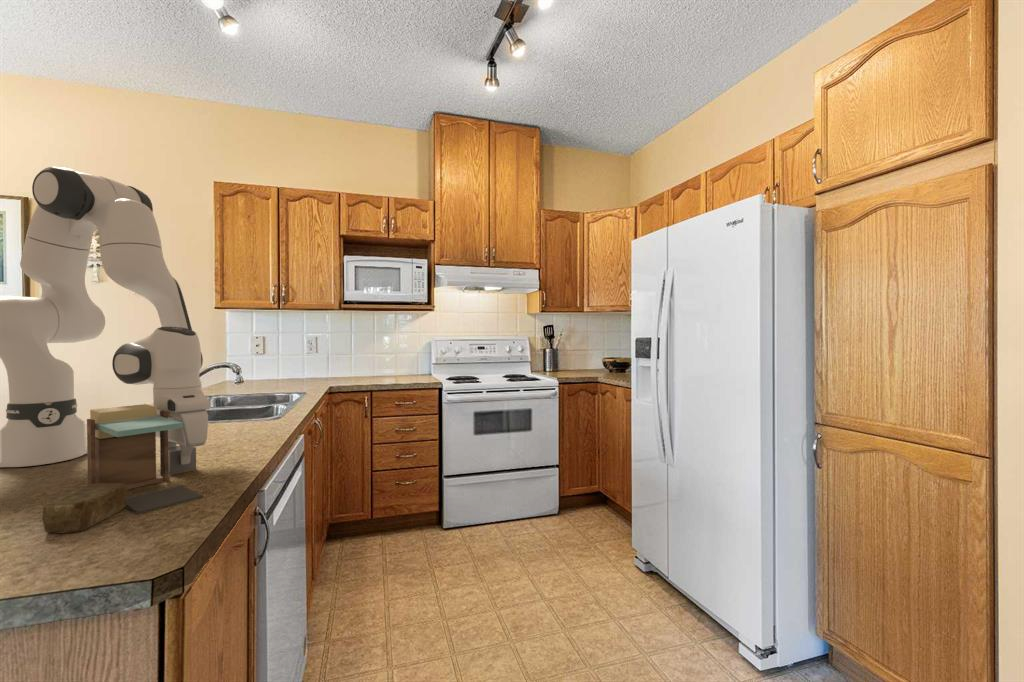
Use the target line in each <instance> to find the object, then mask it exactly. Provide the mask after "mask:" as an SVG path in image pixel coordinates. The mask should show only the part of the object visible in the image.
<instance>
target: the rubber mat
mask: <svg viewBox="0 0 1024 682" xmlns="http://www.w3.org/2000/svg"><path fill="white" fill-rule="evenodd" d="M203 498H204V494H202V493H199V492H198V491H195V490H193V489H190V488H189V487H186V486H184V485H182V484H181V485H177V486H172V487H169V488H164V489H159V490H155V491H150V492H147V493H142V494H138V495H133V496H128V497H126V507H125V508H127V509H129V510H131V511H132V512H134V513H135V514H137V515H140V514H144V513H148V512H151V511H156V510H159V509H163V508H167V507H170V506H171V507H172V506H175V505H178V504H183V503H187V502H191V501H195V500H198V499H203Z"/></svg>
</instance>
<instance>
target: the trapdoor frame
mask: <svg viewBox="0 0 1024 682" xmlns="http://www.w3.org/2000/svg"><path fill="white" fill-rule="evenodd" d="M160 415H161V417H164V418H168V412H167V411H160ZM156 438H157V437H156V432H150V433H143V434H136V435H130V436H123V437H111V438H104V439H99V438H97V437H95V420H93V419H90V418H86V445H87V454H86V455H87V456H86V457H87V460H86V461H87V484H83V485H78V486H77V489H80V488H83V487H85V486H88V485H90V484H93V483H95V484H96V483H123V484H125V485H126V490H131V489H135V488H138V487H142V486H143V487H144V486H149V485H153V484H157V483H162V482H169V481H170V480H171V476H170V474H168V430H164V431H160V438H159V446H160V447H159V449H160V450H159V451H160V453H159V454H160V471H159V470H158V469H157V442H156V441H157V440H156Z"/></svg>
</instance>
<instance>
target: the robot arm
mask: <svg viewBox="0 0 1024 682" xmlns="http://www.w3.org/2000/svg"><path fill="white" fill-rule="evenodd" d="M31 188H32V197H33V198H34V201H35V202H36V204H37V206H36V208H35V210H34V211H33V214H32V216H31V219H30V221H29V224H28V228H27V231H26V236H25V239H24V244H23V248H22V249H23V250H22V253H21V258H20V261H19V265H20V269H21V271H22V272H23V274H25V275H26V276H27V277H28V278H30V279H31V280H32V281H35V282H37V283H38V284H40V287H41V295H40V297H35V296H34V297H33V296H18V295H17V296H16V295H1V296H0V360H1V361H2V363H3V366H4V368H5V371H6V374H7V383H8V396H9V397H8V399H9V402H8V403H7V404H6V408H5V413H6V416H5V417H6V419H7V422H6V424H5V425H3V426H2V427H1V429H0V468H21V467H22V468H23V467H32V466H41V465H46V464H47V465H49V464H55V463H59V462H64V461H68V460H73V459H77V458H79V457H82V456H85V455H87V431H86V423H85V420H84V419H82V418H80V417H78V416H77V414H76V413H78V410H77V409H78V408H77V407H78V403H77V398H75V390H74V389H75V384H74V383H75V382H74V381H75V380H74V378H75V377H74V372H75V371H74V370H73V367H71V365H70V364H69V363H67V362H65V361H63V360H62V359H59V358H56V357H54V356H53V354H52V353H51V351H50V350H49V349H50V348H49V347H48V344H67V343H68V344H72V343H78V342H85V341H89V340H93V339H94V340H95V339H96V338H98V337H99V336H100V335H101V334H102V332H103V331H104V329H105V326H106V317H105V314H104V312H103V311H102V309H101V308H100V307H99V306H98V305H96V304H95V303H94V301H93V300H92V298H90V295H89V293H88V290H87V288H86V271H87V266H88V261H89V256H90V251H91V246H92V241H93V236H94V233H95V231H96V230H97V231H98V241H99V252H100V253H99V254H100V260H101V261H100V262H101V265H102V268H103V270H104V272H105V274H106V275H107V277H109V278H110V279H111V281H113V282H114V283H116V284H117V285H119V286H120V287H122V288H124V289H127V290H129V291H132V292H134V293H135V294H138V295H140V296H141V297H144V298H145V300H147V301H149V302H150V303H151V304H152V305H153V306H154V307H155V309H156V312H157V314H158V317H159V318H158V319H159V322H160V327H157V328H156V329H155V330H154V331H153V333H151V334H150V335H148V336H146V337H144V338H142V339H138V340H135V341H132V342H129V343H124V344H122V345H121V346H119V348H117V349H116V351H115V352H114V354H113V357H112V362H111V363H112V370H113V374H114V375H115V376H116V378H117V379H118V380H119V381H121V382H123V384H128V385H139V386H140V385H145V384H146V385H147V384H149V385H151V384H152V386H153V387H152V393H153V394H152V401H153V403H152V406H155V407H156V415H160V411H167V412H168V419H172V420H175V421H179V422H183V428H178V429H171V430H168V448H169V447H175V446H180V449H181V453H180V456H179V463H180V464H183V465H184V464H189V463H190V462H191V453H192V450H193V447H196V448H197V447H200V446H204V445H205V444H206V442H207V440H208V429H209V415H208V411H207V410H209V409H210V408H211V402H210V400H209V397H207V396H206V395H205V394H204V392H203V390H202V381H201V379H200V378H201V377H200V371H201V369H202V367H203V362H204V361H203V360H204V359H203V353H202V349H201V344H200V343H201V342H200V339H199V336H198V333H196V331H194V330H193V328H192V325H191V321H190V318H189V313H188V309H187V306H186V302H185V299H184V295H183V292H182V288H181V286H180V284H179V282H178V280H176V278H175V277H173V275H172V274H171V272H170V270H169V268H168V266H167V264H166V262H165V258H164V254H163V250H162V249H163V247H162V246H163V245H162V241H161V236H160V231H159V228H158V224H157V221H156V218H155V215H154V213H153V211H154V209H153V203H152V200H151V198H150V197H149V196H148V194H146V193H144V192H143V191H141V190H140V189H138V188H136V187H134V186H132V185H126V184H124V183H122V182H119V181H117V180H116V181H115V180H113V179H111V178H108V177H104V176H100V175H99V176H98V175H94V174H89V173H85V172H82V171H81V172H79V171H76V170H75V169H72V168H68V167H67V168H66V167H62V166H61V167H60V166H59V167H58V166H49V167H46V168H44V169H42V170H40V172H39V173H37V174H36V176H35V177H34V180H33V182H32V186H31ZM156 438H158V439H160V431H157V432H156Z"/></svg>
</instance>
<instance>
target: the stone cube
mask: <svg viewBox="0 0 1024 682" xmlns="http://www.w3.org/2000/svg"><path fill="white" fill-rule="evenodd" d="M180 453H181V449H180V445H177V446H175V447H169V448H168V475H169V476H170V475H171V476H173V475H175V474H180V473H185V472H186V473H187V472H190V471H196V470H197V446H196V447H193V450H192V453H191V462H190V463H189V464H184V465H183V464H180V463H179V456H180Z"/></svg>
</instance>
